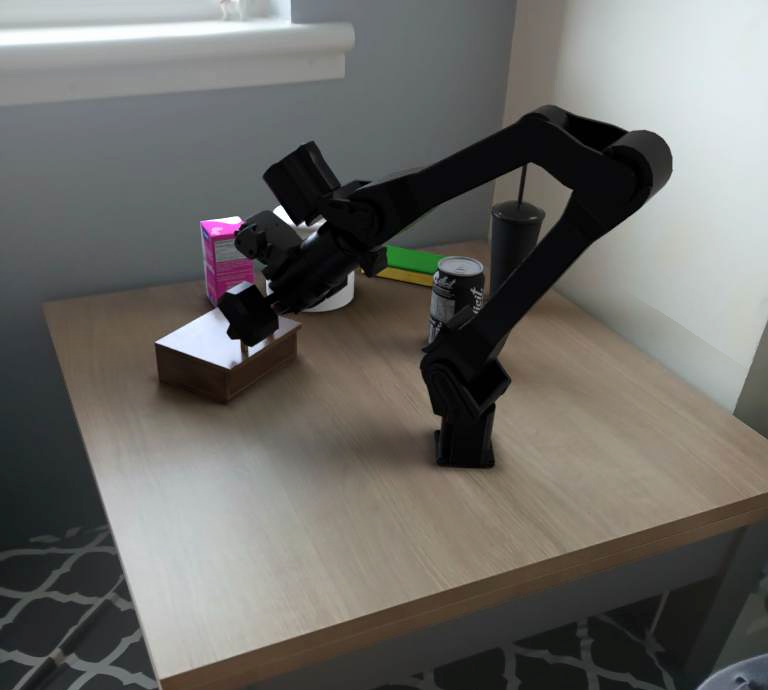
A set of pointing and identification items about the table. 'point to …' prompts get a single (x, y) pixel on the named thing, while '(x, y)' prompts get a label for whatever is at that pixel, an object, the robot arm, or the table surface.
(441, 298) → the beverage can
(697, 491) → the table surface
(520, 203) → the drinking cup
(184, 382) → the tea box
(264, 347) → the lid
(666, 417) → the table surface
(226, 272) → the supplement box
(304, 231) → the honey pot
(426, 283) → the dish sponge
